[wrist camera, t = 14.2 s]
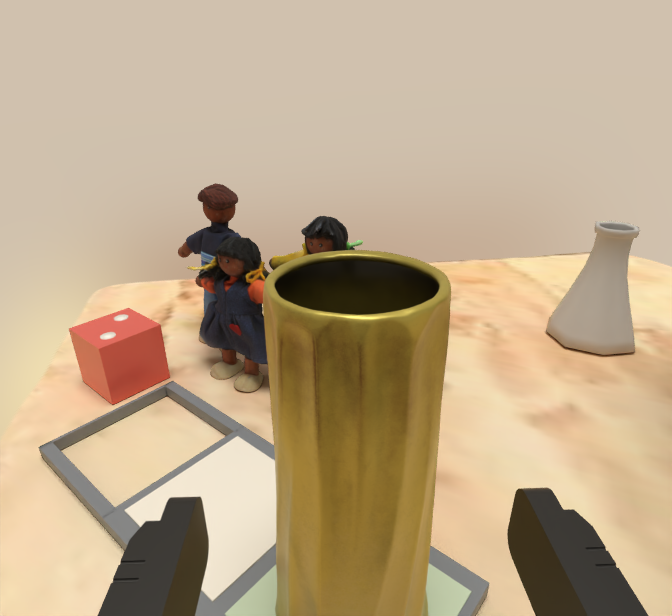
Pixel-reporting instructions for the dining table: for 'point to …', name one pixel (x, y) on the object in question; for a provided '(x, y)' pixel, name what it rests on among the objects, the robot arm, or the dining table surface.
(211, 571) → the game board
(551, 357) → the dining table surface
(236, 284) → the doll family
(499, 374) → the dining table surface
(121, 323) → the red die
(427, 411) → the vase
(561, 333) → the flask
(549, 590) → the robot arm
